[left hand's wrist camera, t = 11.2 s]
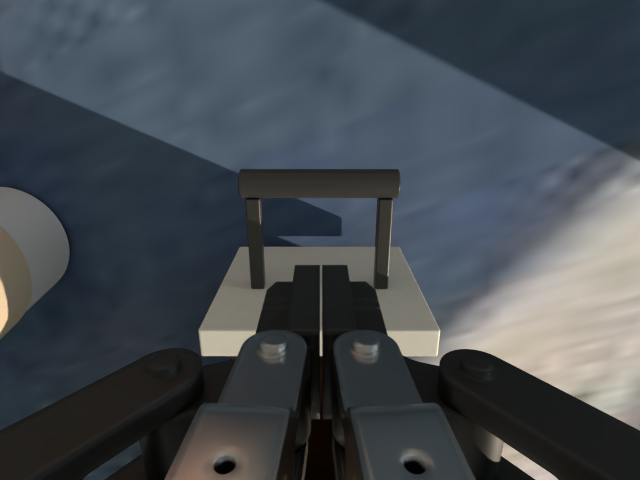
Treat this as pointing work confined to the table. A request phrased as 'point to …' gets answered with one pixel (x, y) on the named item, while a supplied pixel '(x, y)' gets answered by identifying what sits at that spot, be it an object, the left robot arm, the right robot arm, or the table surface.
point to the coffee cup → (27, 254)
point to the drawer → (278, 266)
